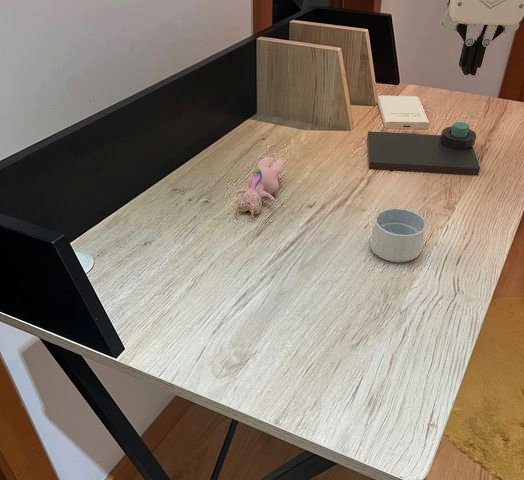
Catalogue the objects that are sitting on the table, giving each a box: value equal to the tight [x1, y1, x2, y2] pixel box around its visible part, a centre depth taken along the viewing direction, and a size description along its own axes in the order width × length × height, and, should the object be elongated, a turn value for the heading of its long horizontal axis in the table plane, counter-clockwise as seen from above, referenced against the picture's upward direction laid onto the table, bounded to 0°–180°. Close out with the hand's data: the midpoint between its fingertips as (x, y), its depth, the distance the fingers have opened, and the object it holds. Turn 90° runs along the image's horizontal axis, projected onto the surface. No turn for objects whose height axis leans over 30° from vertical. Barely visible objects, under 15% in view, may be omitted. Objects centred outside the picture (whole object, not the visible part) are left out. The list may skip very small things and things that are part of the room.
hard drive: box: [376, 94, 430, 130], centre depth 111 cm, size 2×8×12 cm
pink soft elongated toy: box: [233, 156, 285, 222], centre depth 87 cm, size 6×6×15 cm
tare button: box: [451, 121, 471, 138], centre depth 99 cm, size 3×3×2 cm
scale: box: [366, 125, 481, 177], centre depth 98 cm, size 18×12×3 cm
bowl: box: [369, 207, 428, 263], centre depth 78 cm, size 7×7×4 cm
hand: (468, 71), depth 86 cm, fingers closed
